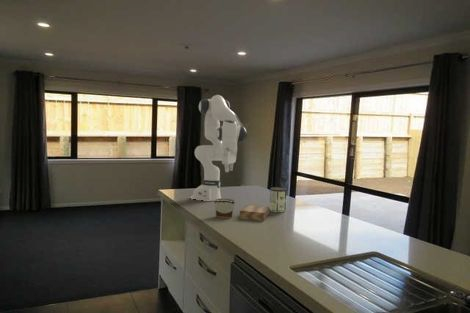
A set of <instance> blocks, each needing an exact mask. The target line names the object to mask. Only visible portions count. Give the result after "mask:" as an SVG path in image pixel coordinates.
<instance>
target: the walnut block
mask: <svg viewBox="0 0 470 313" xmlns="http://www.w3.org/2000/svg"><path fill="white" fill-rule="evenodd" d="M269 215H270V206H262V205H261V206H260V205H251V204H250V205H249V204H248V205H245V206H244V207H243V208H241V209H240V210H239V219H241V220H248V221H249V220H251V221H261V222H265V220H266V219H267V218H268V216H269Z"/></svg>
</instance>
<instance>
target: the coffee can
mask: <svg viewBox="0 0 470 313" xmlns="http://www.w3.org/2000/svg"><path fill="white" fill-rule="evenodd" d="M269 192H270V194H269V196H270V198H269V212H274V213H284V212H286V210H287V208H286V207H287V188H285V187H280V186H279V187H278V186H276V187H274V186H273V187H270V191H269Z"/></svg>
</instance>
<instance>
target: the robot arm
mask: <svg viewBox="0 0 470 313" xmlns="http://www.w3.org/2000/svg"><path fill="white" fill-rule="evenodd" d="M230 108H231V105H230V102H229V100H227V99H225V98H224V97H223V96H222V95H220V94H216V95H213V96H212V97H211V98H208V99H207V98H204V99H201V100H200V101H199V104H198V110H199V112H200V114H202V115H205V117H204V137H205V139H206V140H208V141H210V142H211V143H212V144H209V145H208V144H203V145H197V146H196V148H195V149H194V156H195V158H196V159H197V160H198V161H199V162H200V163H201V165H202V167H203V172H204V174H203V175H204V177H203V179H202V180H201V181H200V183H201V184H200V185H199V186H197V187H196V188H195V189H194V190H193V194H192V195H191V196H190V197H189V199H190V198H191V199H190V200H193V199H196V200H195V201H201V200H203V202H214V201H215V199H219V198H222V196H221V189H220V188H221V179H220V178H221V174H220V173H221V170H220V168H219V167H218V165H217V166H216V165H215V164H213V162H214V161H220V162H221V164H222V165H224V172H225V173H229V172H230V171H231V172H232V171H233V170H234V169H233V167H234V163H236V162H237V161H236V160H237V154H238V149H239V148H238V147H239V146H238V143H239V144H242V143H244V142H245V141H246V140H247V138H248V131H247V129H246V128H245V127H244V125H243V123H242V122H241V120H240V119H239V117H238V116H237V114H236V113H235V112H234V111H233V110H231V109H230ZM220 121H221V122H223V123H222V125H221V122H220Z"/></svg>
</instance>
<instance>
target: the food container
mask: <svg viewBox="0 0 470 313" xmlns="http://www.w3.org/2000/svg"><path fill="white" fill-rule="evenodd" d="M213 204H214V207H215V208H214V209H215V217H216V218H230V219H231V218H233V213H234V206H235V204H236V202H235V199H233V198H227V197H224V198H223V197H221V198H219V199H215V201H213Z"/></svg>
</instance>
